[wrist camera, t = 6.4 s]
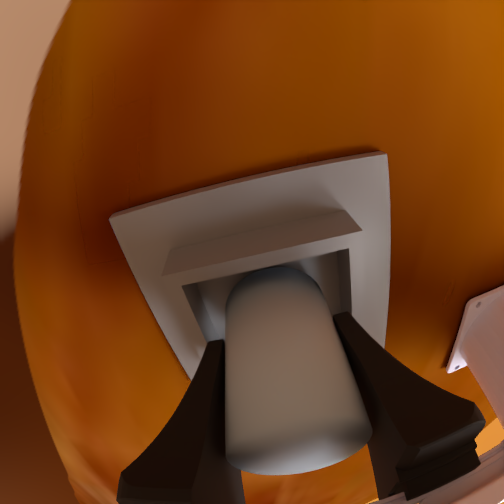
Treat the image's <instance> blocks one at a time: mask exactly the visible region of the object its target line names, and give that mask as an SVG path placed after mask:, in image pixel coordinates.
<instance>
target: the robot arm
mask: <svg viewBox="0 0 504 504" xmlns="http://www.w3.org/2000/svg"><path fill="white" fill-rule="evenodd" d="M333 321H334V323H335V326H336V329H337V331H338V334H339V337H340V339H341V342H342V344H343V347H344V350H345V352H346V355H347V358H348V360H349V363H350V366H351V369H352V371H353V374H354V377H355V380H356V383H357V385H358V388H359V391H360V394H361V397H362V400H363V403H364V406H365V408H366V411H367V414H368V417H369V420H370V423H371V426H372V436H371V438H370V440H369V441H368V442H367V444H368V448H369V452H370V457H371V461H372V466H373V471H374V476H375V481H376V487H377V492H378V498H379V501H376V502H373V503H369V504H417V503H419V504H500V503H502V502H503V501H504V440H503V441H502V442H501V443H500V444H499V445H497V446H495V447H494V448H492V449H491V450H489V451H487V452H486V453H484V454H482V455H480V456H479V457H478V455H477V453H476V451H475V449H476V447H477V444H476V442H475V440H474V439H475V438H476V436H477V435H478V434H479V433H480V432H481V430H482V429H483V428H484V426H485V423H486V421H485V419H484V417H483V415H482V413H481V411H480V410H479V408H478V407H477V406H476V404H475V403H474V402H472V401H469V400H467V399H464V398H461V397H459V396H456V395H454V394H452V393H450V392H448V391H446V390H443V389H441V388H440V387H438V386H436V385H434V384H432V383H431V382H429V381H427V380H425V379H424V378H422V377H420V376H419V375H417V374H416V373H414V372H413V371H411V370H410V369H409V368H407V367H406V366H405V365H403V364H402V363H401V362H399V361H398V360H397V359H396V358H394V357H393V356H392V355H391V354H390V353H388V352H387V351H386V350H385V349H384V348H383V347H382V346H381V345H380V344H379V343H378V342H376V341H375V340H374V339H373V338H372V337H371V336H370V335H369V334H368V333H367V332H366V331H365V330H364V328H363V327H362V326H361V325H360V324H359V323H358V322H357V321H356V320H355V318H354V317H353V316H352V315H351V314H350V313H349V312H348V311H346V312H342V313H338V314H334V315H333ZM467 365H468V367H469V369H470V370H471V372H472V374H473V375H474V377H475V379H476V380H477V382H478V384H479V385H480V387H481V389H482V390H483V392H484V394H485V396H486V397H487V399H488V401H489V403H490V404H491V406H492V408H493V410H494V412H495V414H496V415H497V417H498V419H499V421H500V423H501V425H502V427H503V429H504V285H503V286H500V287H498V288H496V289H494V290H491V291H489V292H486V293H484V294H482V295H479V296H477V297H474V298H472V299H470V300H469V301H468V302H467V304H466V307H465V311H464V315H463V318H462V322H461V325H460V328H459V332H458V335H457V338H456V341H455V344H454V347H453V350H452V353H451V356H450V359H449V362H448V364H447V367H446V371H447V373H452V372H454V371H456V370H458V369H460V368H463V367H465V366H467ZM116 501H117V502H118V503H119V504H246V503H245V498H244V491H243V485H242V477H241V470H240V469H238V468H236V467H234V466H232V465H231V464H230V463H229V462H228V461H227V459H226V446H225V342H224V340H223V339H219V340H213V341H209V342H208V343H207V345H206V348H205V351H204V353H203V356H202V358H201V361H200V363H199V366H198V368H197V370H196V372H195V375H194V377H193V379H192V381H191V383H190V385H189V387H188V389H187V391H186V393H185V395H184V397H183V399H182V400H181V402H180V404H179V406H178V407H177V409H176V411H175V412H174V414H173V415H172V417H171V418H170V420H169V421H168V423H167V424H166V425H165V427H164V428H163V429H162V431H161V432H160V433H159V435H158V436H157V437H156V438H155V439H154V441H153V442H152V443H151V444H150V445H149V446H148V447H147V448H146V449H145V451H144V452H143V453H142V454H141V455H140V456H139V457H138V458H137V459H136V460H134V461H133V462H132V463H131V464H130V465H129V466H128V467H127V468H126V469H124V470H123V471H122V472H121V475H120V479H119V484H118V491H117V499H116Z"/></svg>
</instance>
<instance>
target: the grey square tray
mask: <svg viewBox="0 0 504 504" xmlns="http://www.w3.org/2000/svg"><path fill="white" fill-rule="evenodd" d="M109 221H110V223H111V226H112V228H113V230H114V233H115V235H116V237H117V240H118V242H119V244H120V246H121V249H122V251H123V253H124V255H125V257H126V260H127V262H128V264H129V266H130V268H131V270H132V272H133V275H134V277H135V279H136V281H137V283H138V285H139V287H140V289H141V291H142V293H143V295H144V297H145V299H146V301H147V303H148V305H149V307H150V309H151V310H152V312H153V314H154V316H155V318H156V320H157V322H158V324H159V325H160V327H161V329H162V331H163V333H164V335H165V336H166V338H167V340H168V342H169V344H170V345H171V347H172V349H173V351H174V352H175V354H176V356H177V357H178V359H179V361H180V363H181V364H182V366H183V368H184V369H185V371H186V373H187V374H188V376H189V378H190V379H191V381H192V379H193V377H194V375H195V372H196V370H197V368H198V366H199V363H200V361H201V358H202V356H203V353H204V351H205V348H206V345H207V343H208V342H209V341H213V340H219V339H223V340H224V342H225V306H226V301H227V298H228V296H229V294H230V292H231V291H232V289H233V288H234V287H235V286H236V285H237V284H238V282H240V281H241V280H242V279H244V278H245V277H247V276H248V275H250V274H252V273H255V272H257V271H260V270H263V269H268V268H276V267H284V268H291V269H296V270H299V271H301V272H304V273H305V274H307V275H309V276H310V277H312V278H313V279H314V280H315V281H316V282H317V283H318V285H319V286H320V288H321V290H322V293H323V295H324V298H325V300H326V303H327V305H328V308H329V310H330V313H331V315H332V318H333V315H334V314H338V313H342V312H346V311H348V312H349V313H350V314H351V315H352V316H353V317H354V318H355V320H356V321H357V322H358V323H359V324H360V325H361V326H362V327H363V328H364V330H365V331H366V332H367V333H368V334H369V335H370V336H371V337H372V338H373V339H374V340H375V341H376V342H378V343H379V344H380V345H381V346H382V347H383V348H384V347H385V337H386V327H387V316H388V302H389V285H390V256H391V219H390V190H389V172H388V159H387V154H386V153H384V152H382V151H377V152H370V153H364V154H358V155H352V156H346V157H340V158H335V159H329V160H324V161H318V162H313V163H308V164H303V165H298V166H293V167H288V168H283V169H279V170H274V171H269V172H265V173H260V174H256V175H252V176H247V177H243V178H239V179H235V180H231V181H227V182H222V183H218V184H214V185H211V186H207V187H203V188H199V189H195V190H191V191H188V192H184V193H180V194H177V195H173V196H170V197H166V198H163V199H159V200H156V201H152V202H149V203H145V204H142V205H139V206H135V207H132V208H129V209H126V210H123V211H119V212H116V213H113V214H112V215H111V217H110V218H109Z"/></svg>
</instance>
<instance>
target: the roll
mask: <svg viewBox="0 0 504 504" xmlns="http://www.w3.org/2000/svg"><path fill="white" fill-rule="evenodd" d="M371 436H372V426H371V423H370V420H369V417H368V414H367V411H366V408H365V406H364V403H363V400H362V397H361V394H360V391H359V388H358V385H357V383H356V380H355V377H354V374H353V371H352V369H351V366H350V363H349V360H348V358H347V355H346V352H345V350H344V347H343V344H342V342H341V339H340V337H339V334H338V331H337V329H336V326H335V323H334V321H333V318H332V315H331V313H330V310H329V308H328V305H327V303H326V300H325V298H324V295H323V293H322V290H321V288H320V286H319V285H318V283H317V282H316V281H315V280H314V279H313V278H312V277H310V276H309V275H307V274H305V273H304V272H301V271H299V270H296V269H291V268H284V267H276V268H268V269H263V270H260V271H257V272H255V273H252V274H250V275H248V276H247V277H245V278H244V279H242V280H241V281H240V282H238V284H237V285H236V286H235V287H234V288H233V289H232V291H231V292H230V294H229V296H228V298H227V301H226V306H225V446H226V459H227V461H228V462H229V463H230V464H231V465H232V466H234V467H236V468H238V469H240V470H243V471H246V472H250V473H255V474H262V475H288V474H297V473H303V472H309V471H313V470H317V469H320V468H324V467H327V466H330V465H332V464H335V463H337V462H340V461H342V460H344V459H346V458H348V457H350V456H351V455H353V454H354V453H356V452H357V451H359V450H360V449H361V448H363V447H364V446H365V445H366V444H367V442H368V441H369V440H370V438H371Z"/></svg>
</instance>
